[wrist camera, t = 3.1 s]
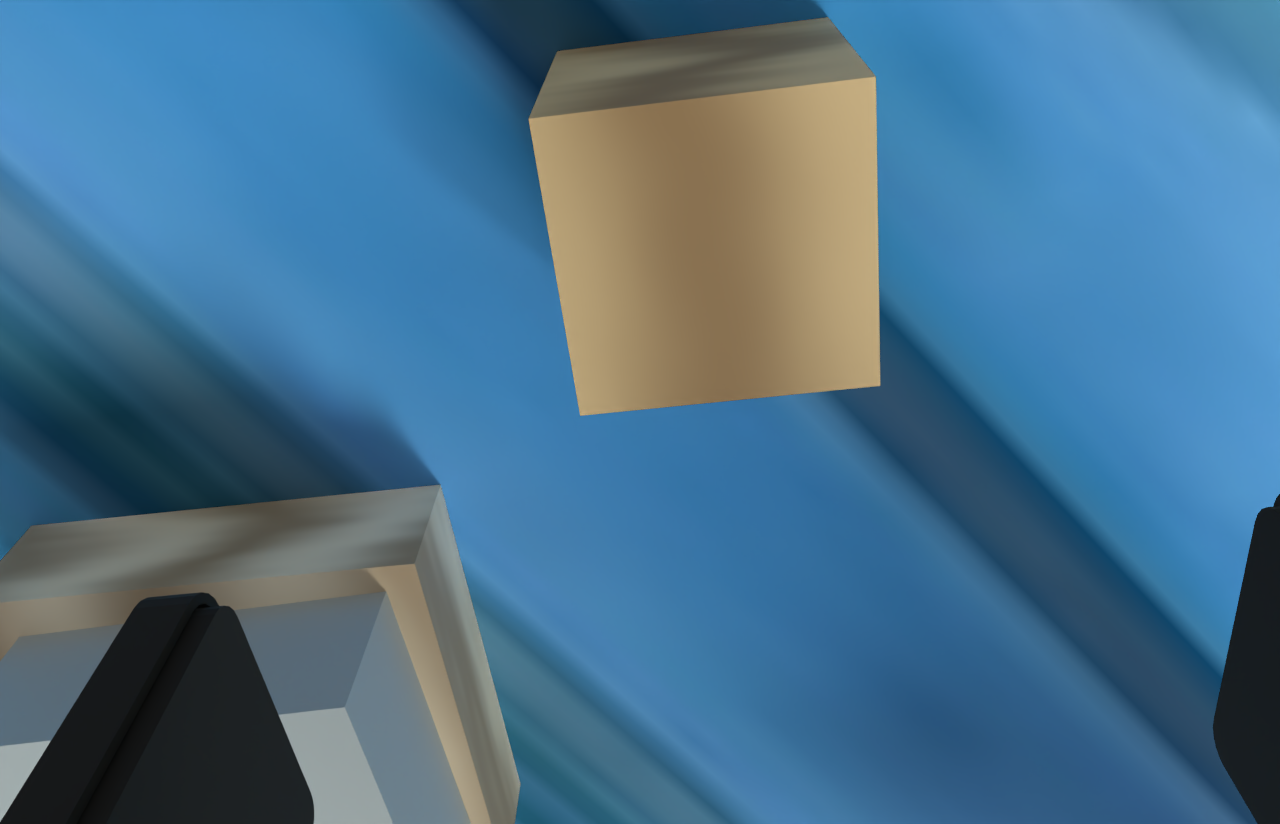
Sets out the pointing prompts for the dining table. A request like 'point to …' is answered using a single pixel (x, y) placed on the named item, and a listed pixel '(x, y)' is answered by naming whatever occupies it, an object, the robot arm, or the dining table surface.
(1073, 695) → the dining table surface
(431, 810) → the slate block
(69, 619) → the birch slab
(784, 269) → the block
